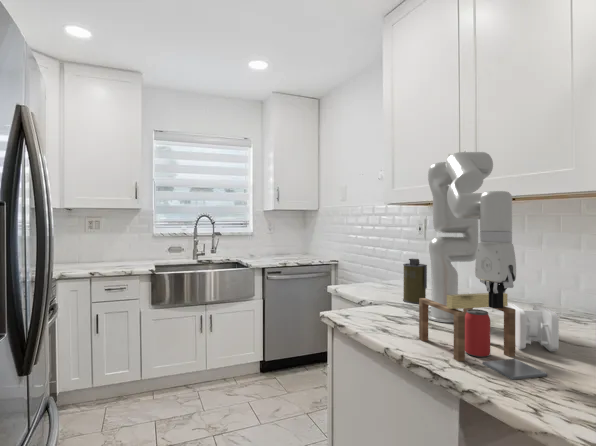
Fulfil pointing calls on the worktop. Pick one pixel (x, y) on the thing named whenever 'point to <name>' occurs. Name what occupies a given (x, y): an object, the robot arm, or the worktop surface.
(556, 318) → the cable organizer
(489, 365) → the coaster
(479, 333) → the beer can
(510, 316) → the frame
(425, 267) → the canister
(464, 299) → the bar
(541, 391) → the worktop surface
